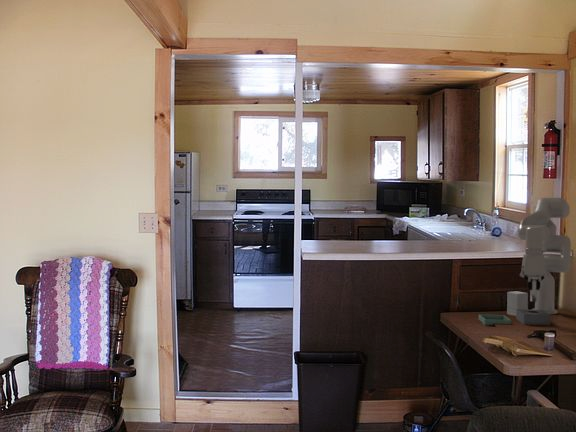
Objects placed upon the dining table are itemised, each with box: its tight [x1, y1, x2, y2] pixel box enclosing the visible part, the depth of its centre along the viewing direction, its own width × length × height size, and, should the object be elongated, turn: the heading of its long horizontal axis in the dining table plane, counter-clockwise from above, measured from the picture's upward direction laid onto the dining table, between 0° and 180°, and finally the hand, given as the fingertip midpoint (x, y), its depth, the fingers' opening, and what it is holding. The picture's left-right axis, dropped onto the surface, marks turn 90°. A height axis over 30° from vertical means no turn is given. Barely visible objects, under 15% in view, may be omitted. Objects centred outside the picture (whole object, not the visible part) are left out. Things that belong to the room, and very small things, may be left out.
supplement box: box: [506, 290, 529, 317], centre depth 287 cm, size 7×7×13 cm
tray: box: [478, 314, 512, 326], centre depth 271 cm, size 12×12×3 cm
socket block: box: [515, 308, 552, 326], centre depth 269 cm, size 12×12×6 cm
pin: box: [529, 276, 539, 303], centre depth 269 cm, size 4×4×12 cm
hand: (533, 289), depth 269 cm, fingers closed on pin, 3 cm apart
